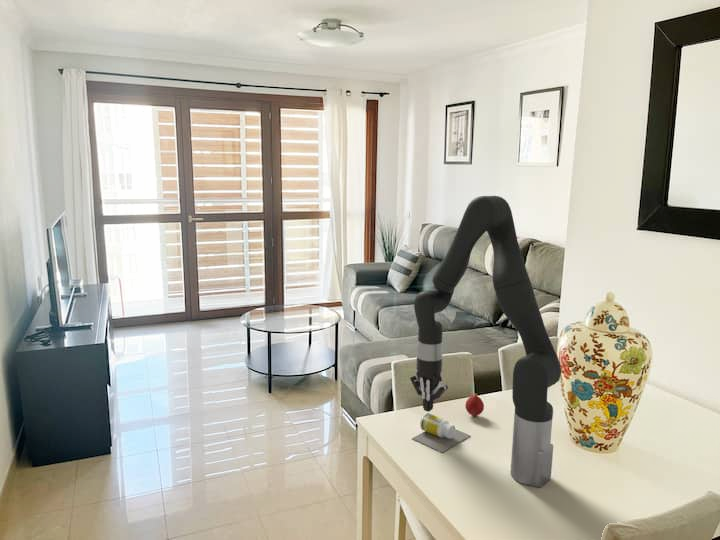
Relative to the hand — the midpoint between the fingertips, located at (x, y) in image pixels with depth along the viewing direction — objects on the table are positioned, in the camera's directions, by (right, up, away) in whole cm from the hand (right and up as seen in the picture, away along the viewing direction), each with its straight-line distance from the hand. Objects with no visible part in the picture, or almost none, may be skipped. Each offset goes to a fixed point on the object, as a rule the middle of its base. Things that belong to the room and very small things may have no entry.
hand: (427, 410), depth 159 cm
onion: (+17, -5, +11) cm, 21 cm away
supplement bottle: (-1, -4, +2) cm, 4 cm away
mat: (+4, -8, -3) cm, 9 cm away
